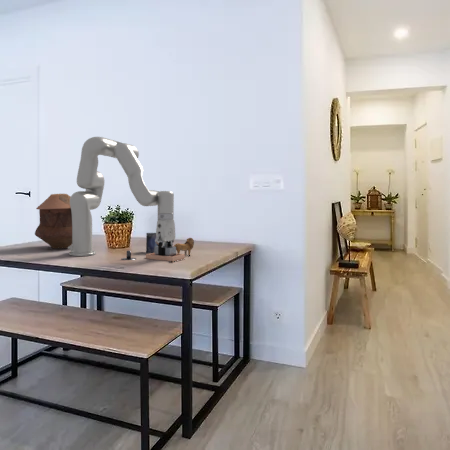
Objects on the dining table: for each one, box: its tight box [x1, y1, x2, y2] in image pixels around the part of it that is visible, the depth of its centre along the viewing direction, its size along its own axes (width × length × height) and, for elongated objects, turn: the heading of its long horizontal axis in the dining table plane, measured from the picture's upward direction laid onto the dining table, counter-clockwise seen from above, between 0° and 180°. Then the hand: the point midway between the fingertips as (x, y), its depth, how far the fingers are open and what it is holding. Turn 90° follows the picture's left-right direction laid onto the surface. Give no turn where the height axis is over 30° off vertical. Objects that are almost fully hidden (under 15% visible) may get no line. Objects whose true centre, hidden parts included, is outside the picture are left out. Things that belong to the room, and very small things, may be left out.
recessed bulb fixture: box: [154, 245, 177, 257], centre depth 194 cm, size 6×9×4 cm, turn 64°
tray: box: [145, 252, 186, 263], centre depth 194 cm, size 15×10×2 cm
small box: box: [145, 232, 167, 254], centre depth 213 cm, size 11×6×10 cm, turn 105°
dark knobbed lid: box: [121, 250, 137, 261], centre depth 190 cm, size 7×7×4 cm
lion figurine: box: [173, 237, 195, 256], centre depth 204 cm, size 15×5×9 cm, turn 139°
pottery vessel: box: [34, 193, 72, 249], centre depth 224 cm, size 26×26×30 cm
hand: (165, 254), depth 194 cm, fingers closed on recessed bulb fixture, 5 cm apart
